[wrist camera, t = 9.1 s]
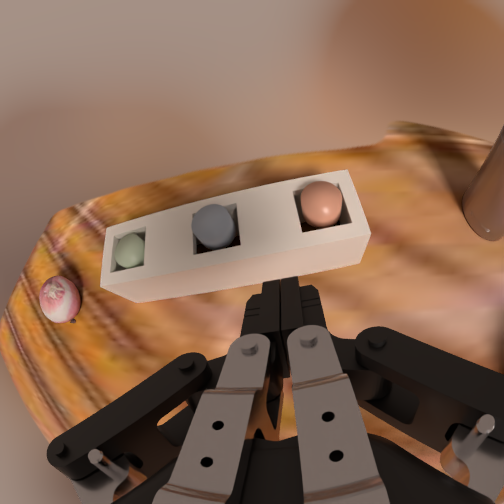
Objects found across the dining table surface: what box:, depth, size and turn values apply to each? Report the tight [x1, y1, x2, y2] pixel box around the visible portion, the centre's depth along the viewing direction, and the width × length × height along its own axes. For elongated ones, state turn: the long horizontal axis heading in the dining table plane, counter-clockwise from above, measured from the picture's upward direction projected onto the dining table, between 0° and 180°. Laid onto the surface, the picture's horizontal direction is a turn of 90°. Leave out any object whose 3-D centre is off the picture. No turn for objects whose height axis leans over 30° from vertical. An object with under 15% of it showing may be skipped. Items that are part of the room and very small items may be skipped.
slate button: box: [191, 204, 236, 250], centre depth 28 cm, size 4×4×2 cm
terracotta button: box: [301, 181, 342, 229], centre depth 26 cm, size 4×4×2 cm
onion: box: [40, 276, 81, 323], centre depth 35 cm, size 8×8×7 cm
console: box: [100, 170, 371, 303], centre depth 32 cm, size 30×8×8 cm, turn 97°
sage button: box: [115, 234, 145, 269], centre depth 31 cm, size 4×4×2 cm
